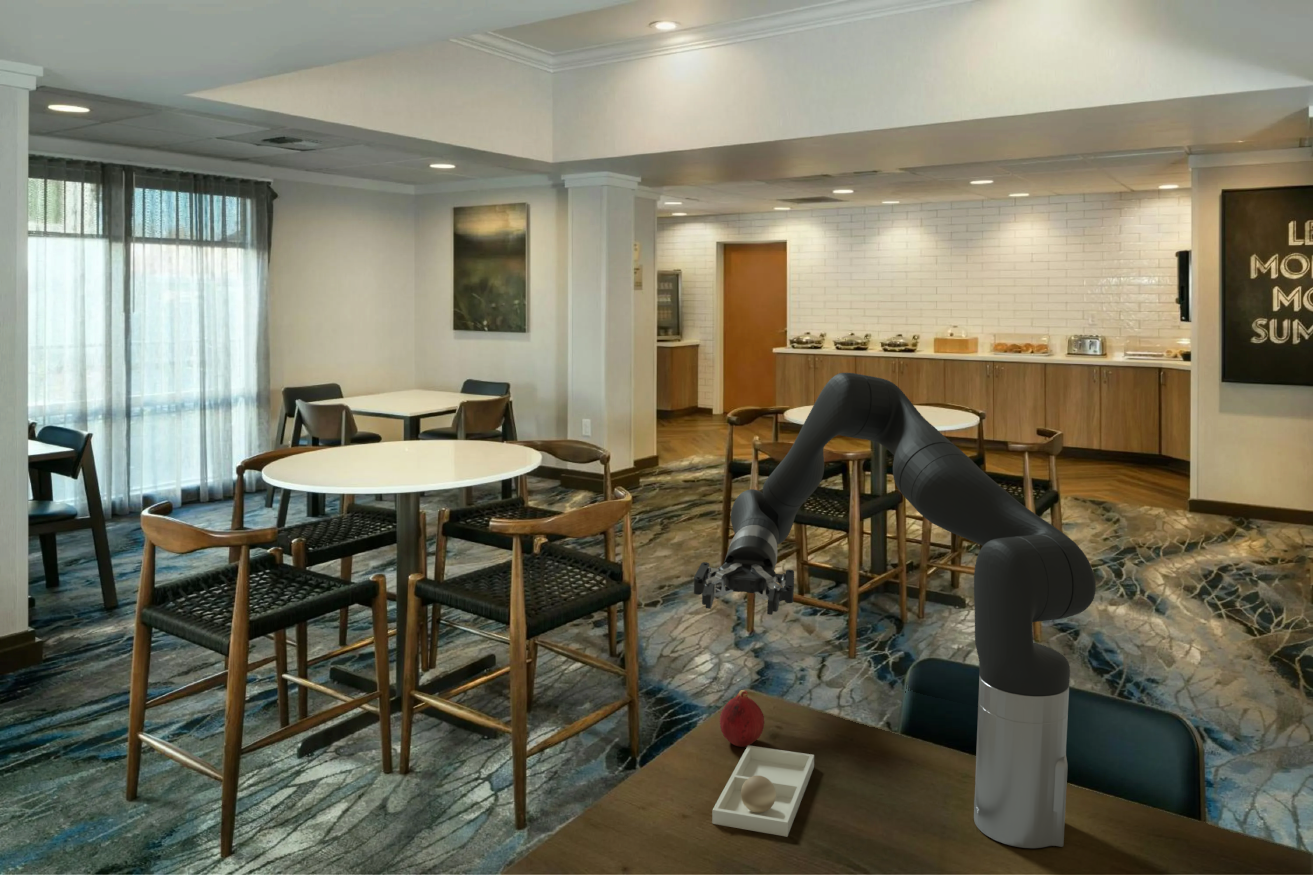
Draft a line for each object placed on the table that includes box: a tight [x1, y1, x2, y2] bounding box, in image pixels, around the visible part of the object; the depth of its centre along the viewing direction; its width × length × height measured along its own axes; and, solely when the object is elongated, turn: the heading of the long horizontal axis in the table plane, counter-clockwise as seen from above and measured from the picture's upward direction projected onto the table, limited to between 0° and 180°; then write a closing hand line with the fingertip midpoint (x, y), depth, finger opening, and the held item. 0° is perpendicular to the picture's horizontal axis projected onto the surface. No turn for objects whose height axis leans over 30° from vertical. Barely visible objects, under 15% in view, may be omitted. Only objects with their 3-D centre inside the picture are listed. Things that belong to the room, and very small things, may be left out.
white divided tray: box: [711, 745, 815, 838], centre depth 113 cm, size 8×16×2 cm, turn 161°
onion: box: [719, 689, 765, 748], centre depth 126 cm, size 6×6×8 cm
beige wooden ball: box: [741, 776, 776, 813], centre depth 109 cm, size 4×4×4 cm
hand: (739, 605), depth 131 cm, fingers open, 8 cm apart
